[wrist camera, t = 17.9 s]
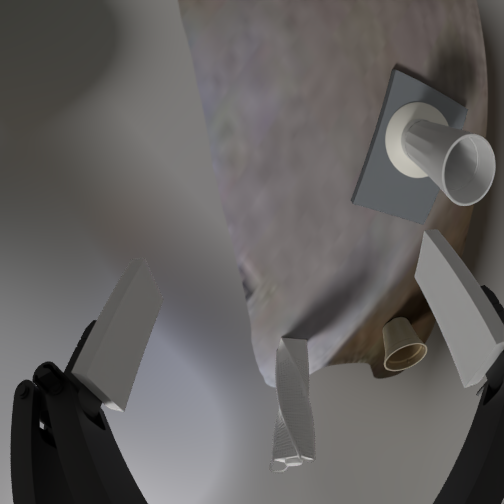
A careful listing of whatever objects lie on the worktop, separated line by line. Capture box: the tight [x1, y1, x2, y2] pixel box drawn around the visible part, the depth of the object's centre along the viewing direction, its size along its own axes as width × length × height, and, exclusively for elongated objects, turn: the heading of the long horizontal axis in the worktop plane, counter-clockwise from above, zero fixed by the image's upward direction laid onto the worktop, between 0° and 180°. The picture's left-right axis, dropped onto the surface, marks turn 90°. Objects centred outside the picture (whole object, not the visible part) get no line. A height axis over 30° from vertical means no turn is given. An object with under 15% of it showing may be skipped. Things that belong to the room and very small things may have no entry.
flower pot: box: [383, 317, 427, 371], centre depth 50 cm, size 9×9×9 cm
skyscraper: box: [269, 337, 315, 473], centre depth 47 cm, size 8×8×28 cm
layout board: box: [351, 70, 468, 225], centre depth 33 cm, size 20×13×1 cm, turn 169°
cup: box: [401, 119, 495, 206], centre depth 26 cm, size 8×8×12 cm
